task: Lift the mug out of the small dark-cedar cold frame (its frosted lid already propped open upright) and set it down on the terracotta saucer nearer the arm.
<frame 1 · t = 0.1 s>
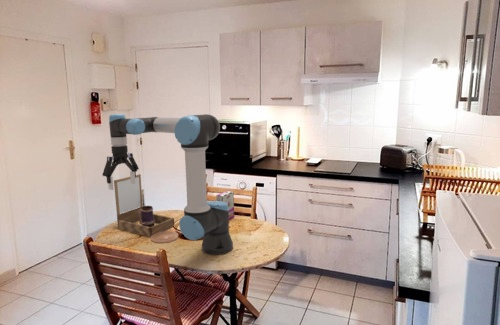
hand: (122, 186, 180), 28 cm above the table, fingers open, 13 cm apart
mug: (146, 228, 200), resting in cold frame
candy bar box: (225, 219, 211), on the table
lid: (131, 223, 206), resting on cold frame
cold frame: (146, 227, 200), on the table
saucer: (164, 237, 185), on the table
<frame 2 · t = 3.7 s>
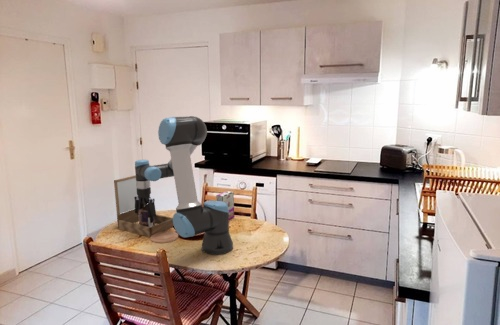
hand: (146, 226, 200), 1 cm above the table, fingers closed on mug, 7 cm apart
mug: (146, 228, 200), resting in cold frame, touching gripper
everything else where it was.
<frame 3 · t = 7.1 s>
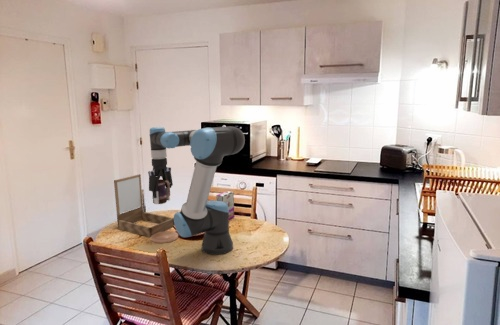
hand: (162, 201, 181), 20 cm above the table, fingers closed on mug, 7 cm apart
mug: (162, 203, 182), point 19 cm above the table, touching gripper
everything else where it was.
when the fingers open (4 cm above the table, at t = 10.7 s): mug drops 2 cm, resting on saucer.
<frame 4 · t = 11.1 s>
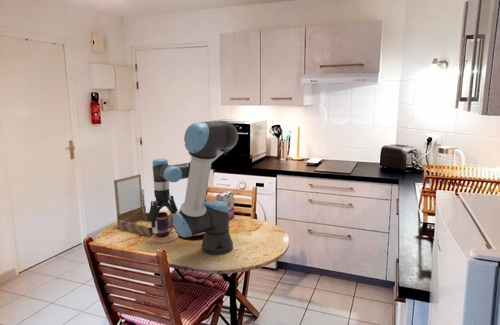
hand: (164, 229, 184), 5 cm above the table, fingers open, 12 cm apart
mug: (164, 235, 185), point 1 cm above the table, touching saucer
everything else where it was.
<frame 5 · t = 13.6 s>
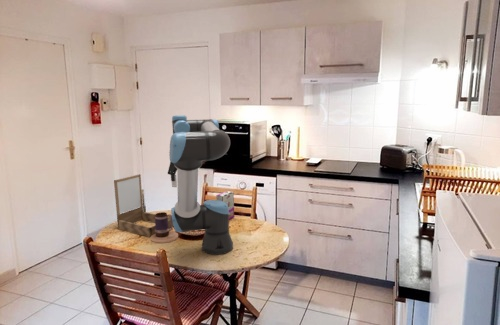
hand: (182, 184, 189), 27 cm above the table, fingers open, 13 cm apart
nothing on the table moved.
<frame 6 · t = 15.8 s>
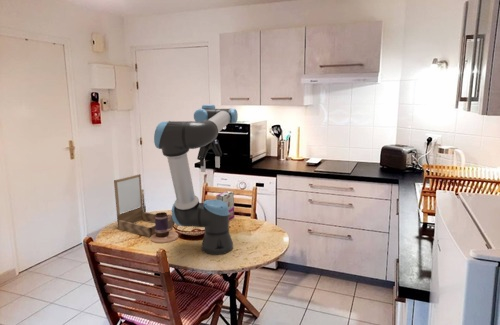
hand: (210, 169, 201), 32 cm above the table, fingers open, 13 cm apart
nothing on the table moved.
at the end: mug 0.2 cm from the saucer (horizontally); mug tilted 0°; mug point 0.9 cm above the table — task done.
